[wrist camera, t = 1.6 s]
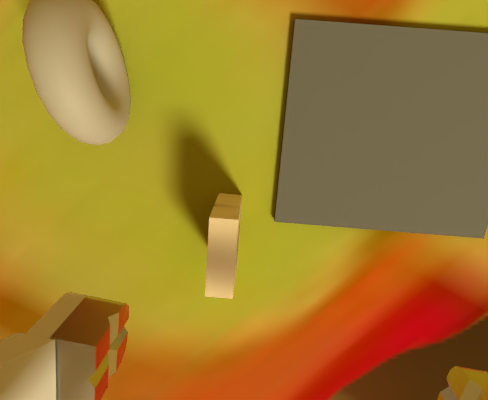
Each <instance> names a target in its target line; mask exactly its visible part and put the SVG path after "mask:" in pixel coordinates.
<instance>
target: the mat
mask: <svg viewBox="0 0 488 400" xmlns="http://www.w3.org/2000/svg"><path fill="white" fill-rule="evenodd" d="M274 220H275V222H285V223H297V224H310V225H322V226H335V227H348V228H360V229H373V230H385V231H398V232H410V233H423V234H435V235H448V236H460V237H473V238H484V236H485V232H486V228H487V225H488V33H479V32H466V31H452V30H439V29H425V28H412V27H398V26H385V25H371V24H358V23H344V22H331V21H317V20H304V19H295V21H294V30H293V40H292V50H291V60H290V70H289V80H288V90H287V99H286V109H285V119H284V129H283V139H282V149H281V159H280V169H279V179H278V188H277V198H276V208H275V218H274Z"/></svg>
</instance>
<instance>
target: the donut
mask: <svg viewBox="0 0 488 400" xmlns="http://www.w3.org/2000/svg"><path fill="white" fill-rule="evenodd" d="M23 46H24V51H25V56H26V62H27V67H28V69H29V72H30V75H31V78H32V80H33V83H34V86H35V89H36V91H37V93H38V95H39V97H40V99H41V101H42V102H43V104H44V106H45V108H46V110H47V111H48V113H49V114H50V116H51V117H52V118H53V119H54V120H55V122H56V123H57V124H58V125H59V127H60V128H61V129H63V130H64V131H65V132H66V133H68V134H69V135H71V136H72V137H74V138H75V139H76V140H78V141H80V142H83V143H88V144H99V145H103V144H107V143H110V142H111V141H112V140H114V139H115V138H116V137H118V136H119V135H120V134H122V132H123V131H124V129H125V127H126V125H127V122H128V119H129V113H130V103H131V100H130V86H129V80H128V74H127V69H126V65H125V61H124V58H123V54H122V51H121V48H120V46H119V43H118V40H117V37H116V35H115V33H114V31H113V29H112V27H111V25H110V23H109V21H108V20H107V18H106V16H105V15H104V13H103V12H102V10H101V9H100V7H99V6H98V5H97V4H96V3H95V2H94V1H93V0H30V1H29V4H28V7H27V9H26V12H25V15H24V18H23Z"/></svg>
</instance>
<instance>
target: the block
mask: <svg viewBox="0 0 488 400" xmlns="http://www.w3.org/2000/svg"><path fill="white" fill-rule="evenodd" d="M241 202H242V195H239V194H227V193H219V194H218V197H217V199H216V202H215V204H214V207H213V209H212V212H211V214H210V217H209V231H208V250H207V270H206V289H205V296H206V297H218V298H231V299H233V292H234V283H235V274H236V265H237V255H238V242H239V229H240V215H241Z"/></svg>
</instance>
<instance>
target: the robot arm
mask: <svg viewBox="0 0 488 400" xmlns="http://www.w3.org/2000/svg"><path fill="white" fill-rule="evenodd" d="M128 318H129V306H128V305H127V304H126V303H121V302H116V301H112V300H107V299H102V298H98V297H93V296H87V295H82V294H77V293H72V292H69V293H66V294H64V295H63V296H62V297H61V298H60V299H59V300H58V301H57V302H56V303H55V304H54V305H53V306H52V307H51V308H50V309H49V310H48V311H47V312H46V313H45V314H44V315H43V316H42V317H41V318H40V319H39V320H38V321H37V322H36V323H35V324H34V325H33V326H32V327H31V328H30V329H29V330H28V331H27V332H26V333H25V334H23V333H17V334H14V335H12V336H9V337H7V338H4V339H2V340H0V400H101V398H102V396H103V394H104V393H105V391H106V389H107V387H108V376H109V375H111V374H113V373H115V372H116V371H117V369H118V367H119V365H120V363H121V360H122V358H123V355H124V352H125V348H126V343H127V334H128V332H127V331H126V329H125V328H124V325H125V323H126V321H127V320H128ZM447 381H448V383H449V387H448V388H446V389H445V390H443V391H441V392H440V394H439V397H438V400H488V372H485V371H480V370H474V369H468V368H463V367H458V366H455V367H454V368H452V369H451V370H450V372H449V374H448V376H447Z"/></svg>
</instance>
